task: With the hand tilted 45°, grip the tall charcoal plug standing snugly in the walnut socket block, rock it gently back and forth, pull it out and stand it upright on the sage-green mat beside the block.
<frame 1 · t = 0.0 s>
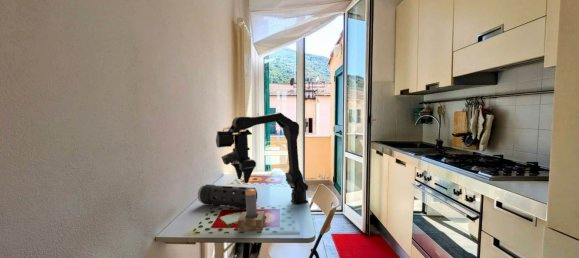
hand: (242, 181, 115), 15 cm above the table, tool pointing down, fingers open, 9 cm apart
mat: (233, 218, 110), on the table
socket block: (252, 225, 102), on the table
muzzle brake: (227, 207, 126), on the table
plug: (251, 208, 102), in the socket block
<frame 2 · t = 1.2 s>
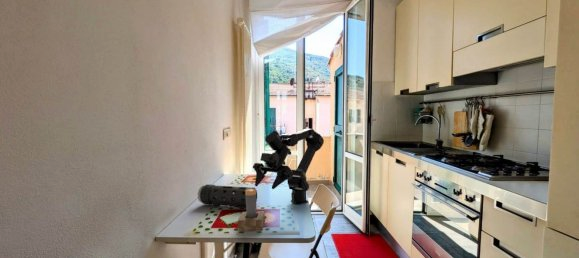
hand: (263, 187, 108), 13 cm above the table, tool tilted 45°, fingers open, 9 cm apart
nothing on the table moved.
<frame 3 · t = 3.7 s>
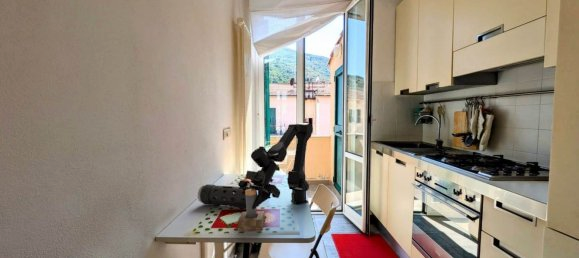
hand: (248, 207, 101), 8 cm above the table, tool tilted 45°, fingers closed on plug, 4 cm apart
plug: (251, 208, 102), in the socket block, touching gripper
everything else where it was.
when the fingers open (9 cm above the table, at t = 9.9 s): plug drops 1 cm, resting on mat.
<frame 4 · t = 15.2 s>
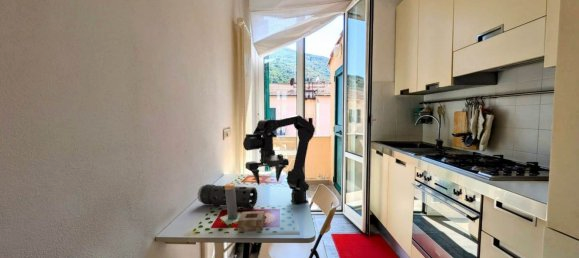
hand: (268, 182, 116), 13 cm above the table, tool pointing down, fingers open, 9 cm apart
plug: (231, 201, 109), on the mat
everything else where it was.
at the end: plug 0.4 cm off-centre on the mat, point 7.6 cm above the mat's base; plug tilted 2°; the gripper is holding nothing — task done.
